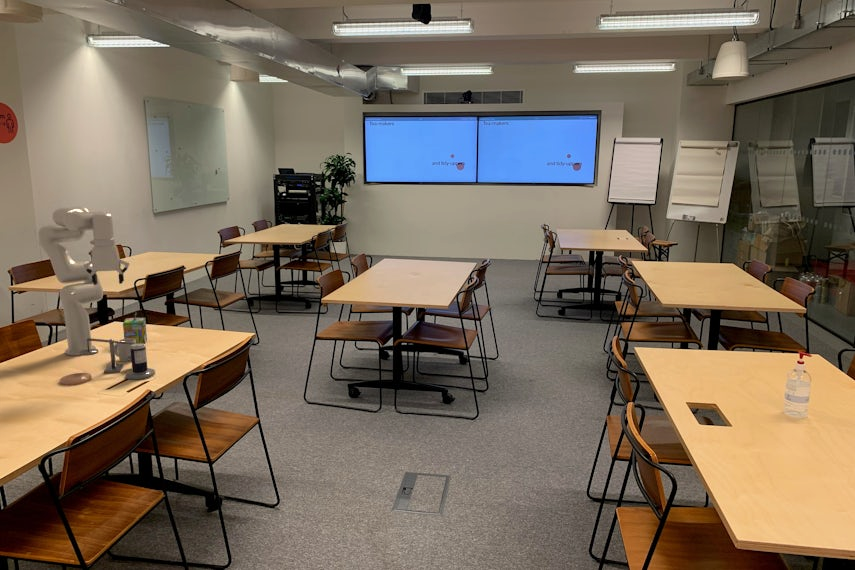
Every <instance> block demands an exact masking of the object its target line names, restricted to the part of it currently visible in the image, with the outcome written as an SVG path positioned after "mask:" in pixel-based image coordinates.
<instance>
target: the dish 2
mask: <svg viewBox="0 0 855 570" xmlns="http://www.w3.org/2000/svg"><path fill="white" fill-rule="evenodd" d="M147 369H148V370H147V371H146V372H145V373H143V374H135V373H134V372H133V371H132V370H129V371H127V372H126V373H125V378H126V379H127V380H130V381H141V379H142V380H146V379H145V378H147V379H150V378H152V377H154V376H155V375H156V370H155V369H154V368H150V367H149V368H148V367H147ZM154 374H155V375H154ZM153 375H154V376H153ZM151 376H152V377H151ZM149 377H150V378H149Z"/></svg>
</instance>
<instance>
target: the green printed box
mask: <svg viewBox="0 0 855 570" xmlns="http://www.w3.org/2000/svg"><path fill="white" fill-rule="evenodd" d="M146 321H147V320H146V317H137V313H134V316H133V317H127V318H125V319H124V321H123V323H122V328H123V337H124V338H123V339H127V338H133V339H135V340H136V343H144V344H145V345H146V342H147V340H148V337H147V324H146V323H147V322H146Z"/></svg>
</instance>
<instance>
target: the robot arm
mask: <svg viewBox="0 0 855 570" xmlns="http://www.w3.org/2000/svg"><path fill="white" fill-rule="evenodd" d="M52 220H53V222H54V223H52V224H47V225H43V226H41V227H40V228H39V230H38V241H39V243H40V245H41V248H42V249H43V251H44V252H45V253H46V255H47V256H48V258H49V260H50V263H51V264H50V265H51V267H52V268H53V271H54V275H55V277H56V279H57V281H58V282H59V283H60V284H68V285H65V286H63V287H61V288H60V291H59V299H60V301H61V302H60V303H61V305H62V308H63V315H64V324H65V330H66V331H65V332H66V340H67V346H68V347H67V348H66V349H65V350H64V354H65V355H66V356H72V357H73V356H76V357H77V356H80V355H79V352H80V351H82V350H85V349H88V346H87V339H88V338H92V333H91V326H90V325H91V324H90V316H89V312H88V311H87V309H85V307H83V306H82V305H87V304H90V303H95V302H96V303H97V302H99V301H101V300H102V299H103V296H104V291H103V288H102V287H103V286H102V284H101V281H100V279H99V277H98V276H99V275H98V274H97V272H112V271H113V272H114V271H116V272H118V284H119V285H121V284H123V282H124V281H125V278H124V273H125V272H127V270H128V268H129V266H130V262H127V261H125V260H122V259H121V257H120V253H119V249H118V246H117V245H116V243H115V233H114V224H113V222H114V221H113V216H112V214H110V213H108V212H103V211H98V210H97V211H89V210H88V209H87V208H86V207H84V206H70V207H69V206H68V207H60V208H57V209H56V210H54V212H53V213H52ZM87 231H92V233H93V240H90V241H89V243H90V245H93V246H92V247H91V248H92V249H91V261H89V260H77V261H75V260H74V259H73V258H72V255H71V254H72V253H71V252H70V251H69V250H68V248H66V247H65V246H63V245H61V244H60V243H70V242H77V241H81V240H82V239H83V238H84V236H85V234H86V232H87ZM121 265H124V267H123V268H121ZM81 282H82V283H81ZM74 283H75V284H74ZM88 342H89V349H97V347H96V346H95V345H92V343H93V341H88Z"/></svg>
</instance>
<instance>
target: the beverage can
mask: <svg viewBox="0 0 855 570" xmlns="http://www.w3.org/2000/svg"><path fill="white" fill-rule="evenodd" d="M130 350H131V361H132V362H131V369H132V371H133V372H134V373H135V374H143V373H145V372H146V371H147V370H148V369H147V368H148V361H147V349H146V344H145V345H144V343H135V344H132V345H131V348H130Z"/></svg>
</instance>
